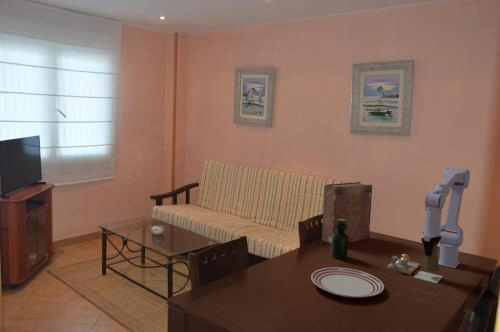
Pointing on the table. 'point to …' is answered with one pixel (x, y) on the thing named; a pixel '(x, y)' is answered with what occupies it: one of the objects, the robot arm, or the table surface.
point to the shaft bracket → (403, 265)
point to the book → (347, 210)
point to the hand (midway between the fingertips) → (430, 254)
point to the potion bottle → (340, 241)
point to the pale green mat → (428, 277)
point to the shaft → (401, 260)
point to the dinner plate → (347, 282)
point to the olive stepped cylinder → (432, 261)
